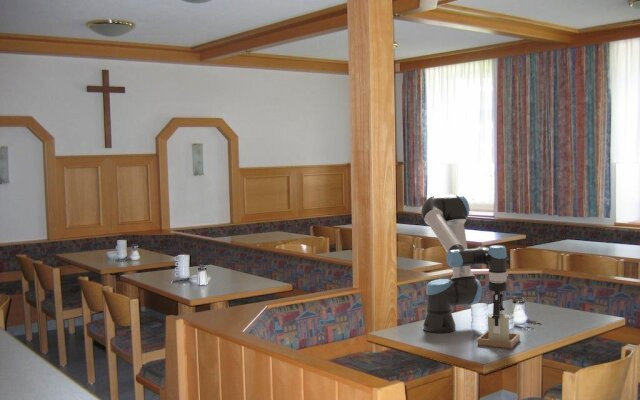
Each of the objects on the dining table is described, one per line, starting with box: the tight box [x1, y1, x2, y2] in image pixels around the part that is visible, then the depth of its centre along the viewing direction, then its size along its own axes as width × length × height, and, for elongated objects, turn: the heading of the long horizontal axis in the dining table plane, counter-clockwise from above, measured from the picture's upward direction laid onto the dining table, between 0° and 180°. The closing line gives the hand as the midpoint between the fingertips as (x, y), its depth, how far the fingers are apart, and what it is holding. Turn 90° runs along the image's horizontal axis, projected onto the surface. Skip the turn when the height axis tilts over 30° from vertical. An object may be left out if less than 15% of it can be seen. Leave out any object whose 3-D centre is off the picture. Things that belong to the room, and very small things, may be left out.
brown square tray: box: [476, 330, 521, 350], centre depth 306 cm, size 15×15×3 cm
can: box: [487, 313, 510, 342], centre depth 306 cm, size 9×9×12 cm
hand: (498, 329), depth 306 cm, fingers open, 13 cm apart
